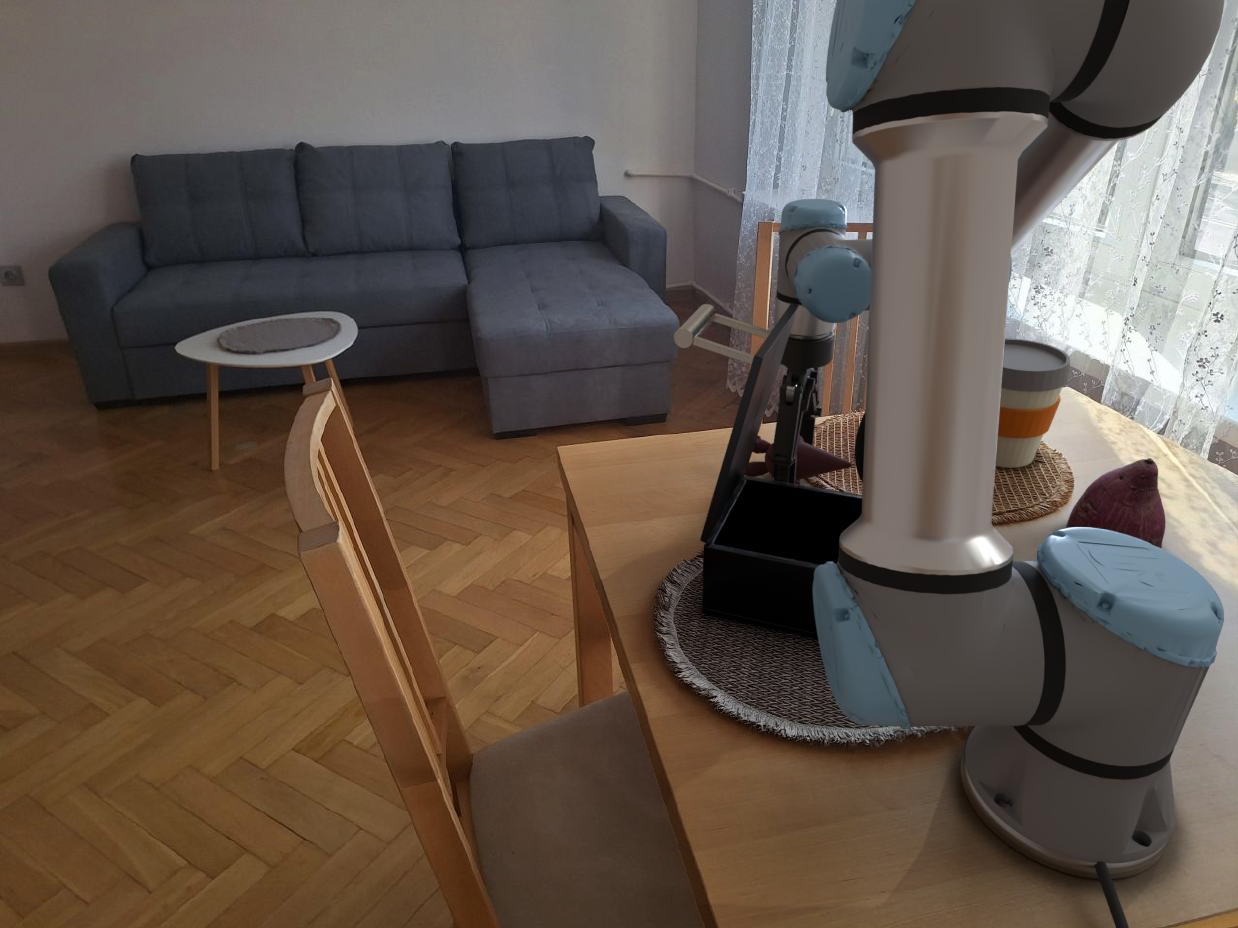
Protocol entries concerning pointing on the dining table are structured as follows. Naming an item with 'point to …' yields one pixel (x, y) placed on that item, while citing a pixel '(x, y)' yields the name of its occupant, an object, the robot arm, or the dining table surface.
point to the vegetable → (1124, 503)
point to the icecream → (807, 458)
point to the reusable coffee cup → (1028, 398)
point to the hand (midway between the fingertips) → (792, 479)
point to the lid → (752, 398)
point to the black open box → (774, 553)
